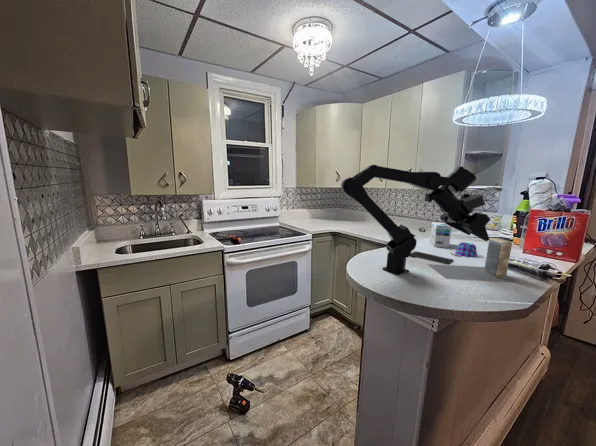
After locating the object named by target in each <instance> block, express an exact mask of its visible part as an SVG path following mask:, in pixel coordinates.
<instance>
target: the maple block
mask: <svg viewBox="0 0 596 446" xmlns="http://www.w3.org/2000/svg"><path fill="white" fill-rule="evenodd" d="M512 246H513V242H512V241H508V240H505V239H502V238H499V237H489V240H488V245H487V252H486V257H485V263H484V264H485V265H484V267H485V269H484V271H485V272H486V273H488V274H490V275H492V276H494V277H496V278H506V276H508V268H509V263H510V262H509V261H510V257H511V252H512Z"/></svg>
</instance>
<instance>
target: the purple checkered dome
mask: <svg viewBox="0 0 596 446" xmlns="http://www.w3.org/2000/svg"><path fill="white" fill-rule="evenodd" d="M476 246H477V245H475V244H474V243H471V242H463V241H462V242H460V243H459V244H458V245H457V248H456V249H452V250H449V252H450V254H452V255H455V256H457V257H462V258H469V259H471V258H472V259H481V258H483V257H484V256H483V254H481V253H478V251H477V247H476Z"/></svg>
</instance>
